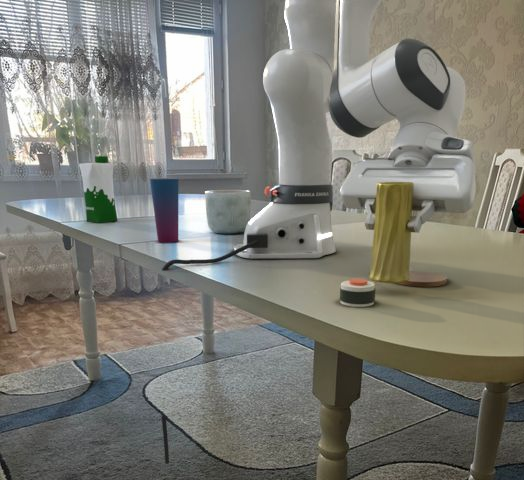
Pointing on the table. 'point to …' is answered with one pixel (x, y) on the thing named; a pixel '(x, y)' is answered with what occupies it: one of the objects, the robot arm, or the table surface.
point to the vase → (392, 232)
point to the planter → (228, 210)
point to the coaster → (425, 279)
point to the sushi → (357, 293)
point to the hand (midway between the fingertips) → (391, 228)
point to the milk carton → (99, 190)
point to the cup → (165, 208)
